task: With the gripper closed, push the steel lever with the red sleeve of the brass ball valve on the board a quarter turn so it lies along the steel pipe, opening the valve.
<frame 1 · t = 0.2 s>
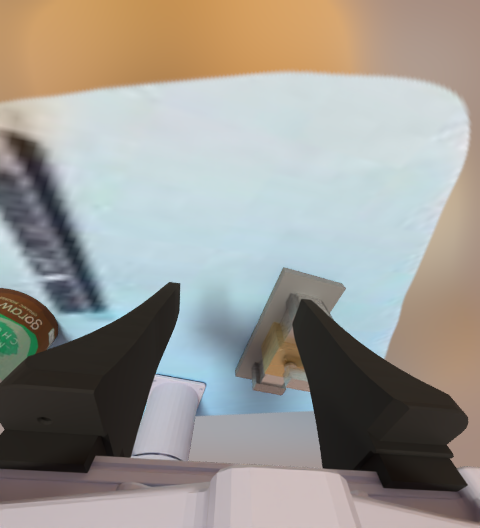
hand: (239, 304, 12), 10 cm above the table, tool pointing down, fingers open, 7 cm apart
pipe and valve: (286, 350, 25), on the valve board, point 3 cm above the table
valve lever: (335, 384, 23), point 6 cm above the table, hinge at 90.0°
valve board: (281, 332, 27), on the table
food container: (26, 304, 25), on the table
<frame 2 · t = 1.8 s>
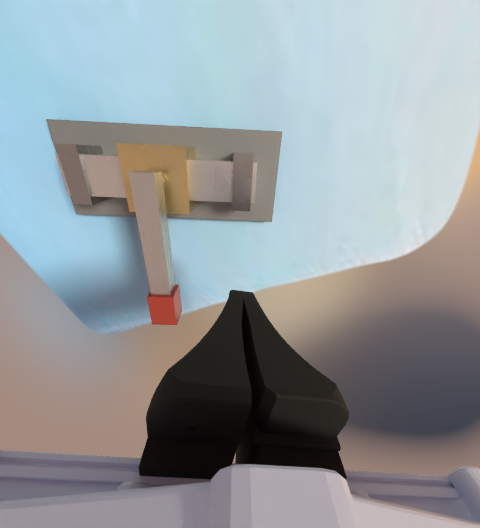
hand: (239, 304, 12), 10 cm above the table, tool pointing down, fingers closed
pipe and valve: (164, 178, 16), on the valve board, point 3 cm above the table
valve lever: (159, 255, 16), point 6 cm above the table, hinge at 90.0°
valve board: (174, 175, 19), on the table
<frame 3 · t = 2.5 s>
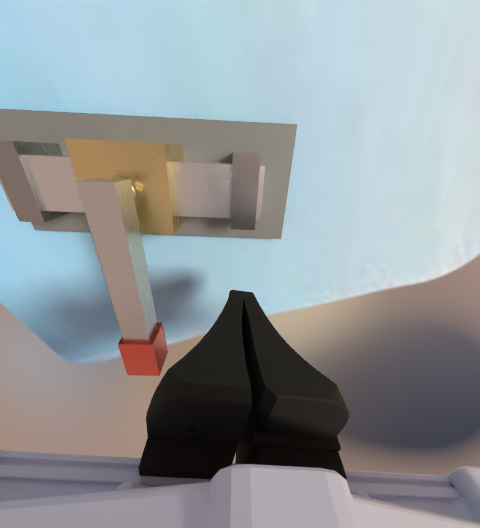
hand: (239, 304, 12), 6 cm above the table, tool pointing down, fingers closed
pipe and valve: (141, 186, 12), on the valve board, point 3 cm above the table
valve lever: (133, 290, 12), point 6 cm above the table, hinge at 90.0°
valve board: (157, 180, 15), on the table
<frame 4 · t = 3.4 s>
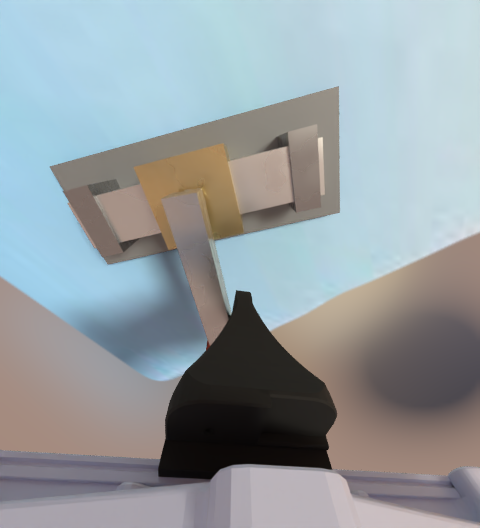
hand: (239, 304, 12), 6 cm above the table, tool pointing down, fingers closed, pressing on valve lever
pipe and valve: (199, 195, 12), on the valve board, point 3 cm above the table
valve lever: (212, 296, 12), point 6 cm above the table, hinge at 86.4°, touching gripper
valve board: (205, 188, 15), on the table
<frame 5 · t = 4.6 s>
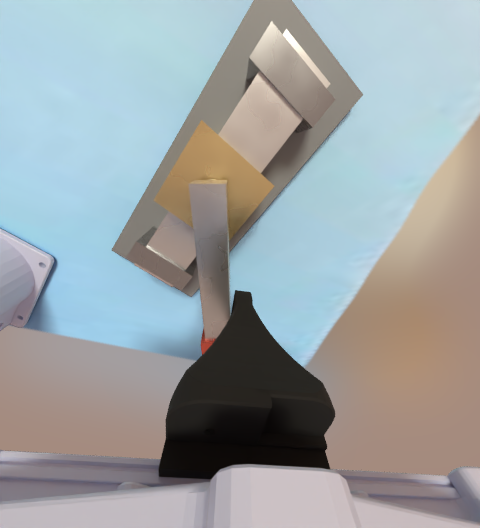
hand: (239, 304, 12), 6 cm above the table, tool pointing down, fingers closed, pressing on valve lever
pipe and valve: (216, 187, 12), on the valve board, point 3 cm above the table
valve lever: (216, 290, 12), point 6 cm above the table, hinge at 38.7°, touching gripper
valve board: (219, 182, 15), on the table
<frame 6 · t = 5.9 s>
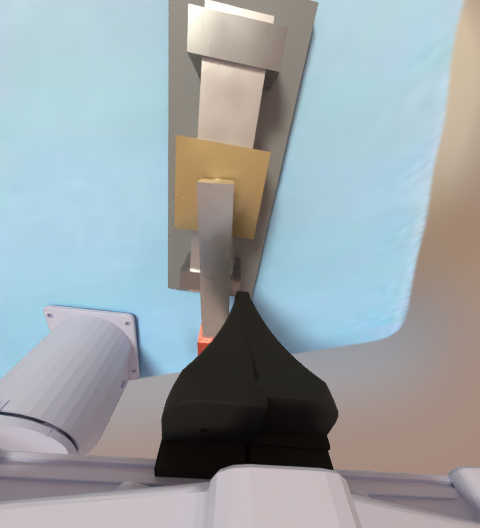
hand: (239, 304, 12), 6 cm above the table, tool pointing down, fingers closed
pipe and valve: (221, 187, 12), on the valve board, point 3 cm above the table
valve lever: (216, 290, 12), point 6 cm above the table, hinge at 5.7°, touching gripper
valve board: (223, 182, 15), on the table
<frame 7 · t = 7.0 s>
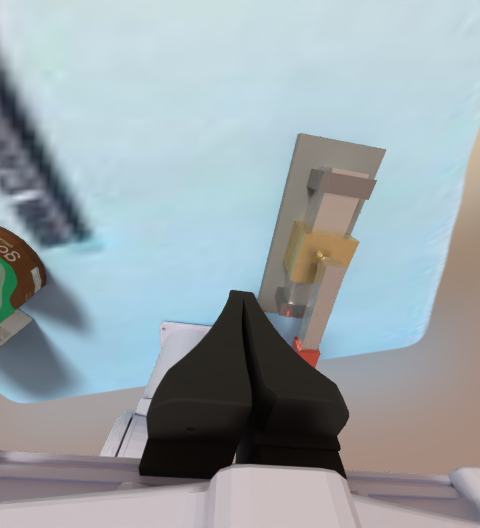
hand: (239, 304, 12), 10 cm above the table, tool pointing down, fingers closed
pipe and valve: (315, 252, 19), on the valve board, point 3 cm above the table
valve lever: (313, 319, 19), point 6 cm above the table, hinge at 4.5°
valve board: (306, 241, 22), on the table
food container: (4, 242, 22), on the table
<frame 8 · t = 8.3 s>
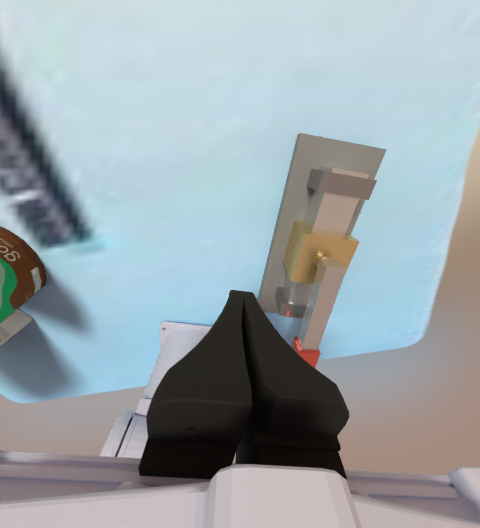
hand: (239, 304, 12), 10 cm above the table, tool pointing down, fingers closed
pipe and valve: (315, 252, 19), on the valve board, point 3 cm above the table
valve lever: (313, 319, 19), point 6 cm above the table, hinge at 4.5°
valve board: (306, 241, 22), on the table
food container: (4, 242, 22), on the table
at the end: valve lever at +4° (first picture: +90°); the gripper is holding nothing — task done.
